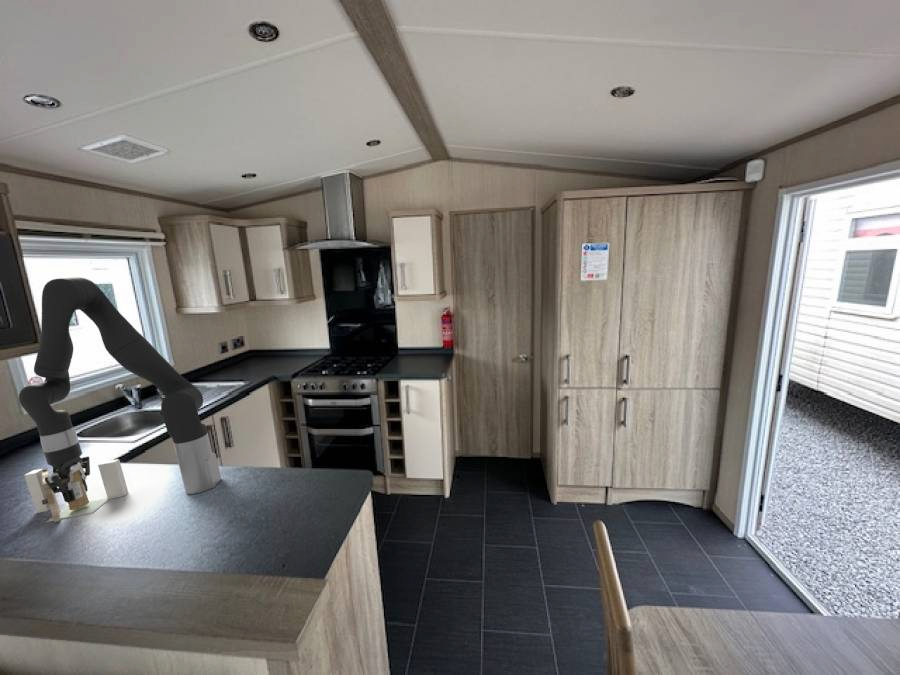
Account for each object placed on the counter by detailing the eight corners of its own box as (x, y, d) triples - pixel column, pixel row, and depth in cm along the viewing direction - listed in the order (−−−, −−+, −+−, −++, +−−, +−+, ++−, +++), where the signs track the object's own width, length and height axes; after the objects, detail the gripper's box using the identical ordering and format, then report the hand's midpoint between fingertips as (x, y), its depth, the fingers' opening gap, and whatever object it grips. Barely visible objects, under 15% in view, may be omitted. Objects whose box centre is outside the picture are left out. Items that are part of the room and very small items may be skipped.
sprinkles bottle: (92, 500, 118) (80, 461, 116) (84, 508, 114) (72, 467, 112) (74, 504, 117) (62, 465, 115) (65, 512, 113) (52, 472, 110)
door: (60, 521, 110) (48, 481, 108) (49, 526, 108) (36, 485, 106) (59, 505, 120) (47, 468, 117) (48, 509, 118) (36, 471, 116)
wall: (128, 492, 123) (119, 459, 121) (124, 495, 121) (114, 461, 119) (112, 495, 122) (102, 461, 120) (107, 499, 120) (97, 464, 118)
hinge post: (55, 505, 120) (44, 468, 118) (47, 511, 117) (35, 473, 115) (44, 507, 120) (33, 470, 117) (36, 513, 117) (24, 475, 114)
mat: (110, 498, 121) (110, 497, 121) (92, 513, 113) (92, 512, 113) (68, 506, 119) (68, 505, 118) (46, 522, 111) (46, 521, 111)
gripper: (55, 453, 106) (72, 507, 109) (92, 433, 120) (107, 482, 123) (24, 458, 105) (43, 513, 107) (66, 438, 118) (81, 487, 121)
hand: (77, 496), depth 115 cm, fingers closed on sprinkles bottle, 4 cm apart
